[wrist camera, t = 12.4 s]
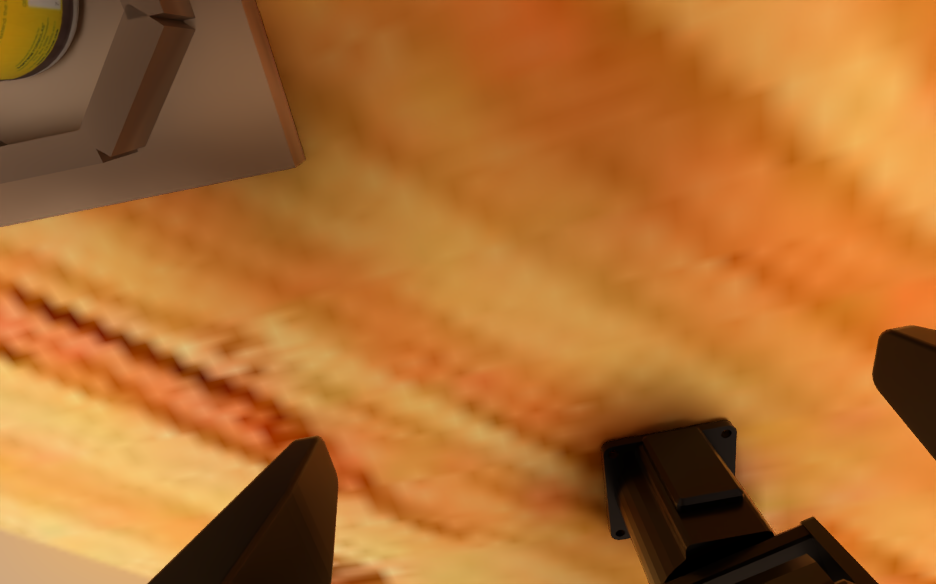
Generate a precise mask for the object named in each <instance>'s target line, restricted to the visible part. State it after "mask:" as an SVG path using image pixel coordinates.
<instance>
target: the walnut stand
mask: <svg viewBox="0 0 936 584" xmlns="http://www.w3.org/2000/svg"><path fill="white" fill-rule="evenodd" d="M305 160H306V159H305V156H304V153H303V150H302V147H301V143H300V140H299V137H298V134H297V131H296V128H295V124H294V121H293V118H292V115H291V112H290V109H289V105H288V102H287V99H286V96H285V93H284V90H283V86H282V83H281V80H280V77H279V74H278V71H277V67H276V64H275V61H274V58H273V55H272V52H271V48H270V45H269V42H268V39H267V36H266V33H265V29H264V26H263V23H262V20H261V17H260V14H259V10H258V7H257V4H256V1H255V0H79V14H78V22H77V28H76V32H75V35H74V37H73V40H72V42H71V44H70V46H69V48H68V49H67V51H66V52H65V53H64V55H63V56H62V57H61V58H60V59H59V60H58V61H57V62H56V63H55V64H54V65H52V66H51V67H50V68H48V69H47V70H45V71H43V72H41V73H39V74H36V75H34V76H31V77H27V78H23V79H18V80H11V81H0V227H3V226H8V225H13V224H18V223H23V222H28V221H33V220H38V219H43V218H48V217H53V216H58V215H63V214H68V213H73V212H78V211H83V210H88V209H93V208H98V207H103V206H108V205H113V204H118V203H122V202H127V201H132V200H137V199H142V198H147V197H152V196H157V195H162V194H167V193H172V192H177V191H182V190H187V189H192V188H197V187H202V186H207V185H212V184H217V183H222V182H227V181H232V180H237V179H242V178H247V177H252V176H256V175H261V174H266V173H271V172H276V171H281V170H286V169H291V168H296V167H297V166H298V165H300V164H301V163H302V162H303V161H305Z"/></svg>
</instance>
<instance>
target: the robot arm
mask: <svg viewBox="0 0 936 584" xmlns="http://www.w3.org/2000/svg"><path fill="white" fill-rule="evenodd" d="M872 376H873V381H874V384H875V386H876V388H877V389H878V391H879V392H880V393H881V394H882V396H883V397H884V398H885V399H886V400H887V402H888V403H889V404H890V405H891V407H892V408H893V409H894V410H895V411H896V413H897V414H898V415H899V416H900V417H901V419H902V420H903V421H904V422H905V424H906V425H907V426H908V427H909V428H910V430H911V431H912V432H913V433H914V435H915V436H916V437H917V438H918V439H919V441H920V442H921V443H922V444H923V445H924V447H925V448H926V449H927V450H928V452H929V453H930V454H931V455H932V456H933V458H934V459H935V460H936V330H933V329H928V328H924V327H919V326H904V327H898V328H893V329H888V330H886V331H884V332H882V333H881V335H880V336H879V339H878V343H877V349H876V355H875V361H874V366H873V373H872ZM724 430H726V431H725V432H723V431H724ZM736 437H737V431H736V428H735V427H734V426H733V425H732V423H731V422H730V421H727V420H722V421H717V422H711V423H706V424H700V425H695V426H689V427H684V428H678V429H673V430H667V431H662V432H656V433H651V434H645V435H640V436H635V437H629V438H624V439H618V440H613V441H609V442H606V443H605V444H603V446H602V447H601V455H602V465H603V475H604V486H605V496H606V506H607V516H608V526H609V531H610V533H611V536H612V538H614V539H616V540H622V539H628V538H631V540H632V542H633V545H634V547H635V550H636V552H637V555H638V557H639V560H640V562H641V565H642V567H643V570H644V572H645V574H646V577H647V579H648V582H649V584H878V583H877V582H876V581H875V580H874V579H873V578H872V577H871V576H870V575H869V574H868V573H867V571H866V570H865V569H864V568H863V567H862V566H861V565H860V564H859V563H858V562H857V561H856V560H855V559H854V558H853V557H852V556H851V555H850V554H849V553H848V552H847V551H846V550H845V549H844V548H843V547H842V546H841V545H840V543H839V542H838V541H837V540H836V539H835V538H834V537H833V536H832V535H831V534H830V533H829V532H828V531H827V530H826V529H825V528H824V527H823V526H822V525H821V524H820V523H819V522H818V521H817V520H816V519H815V518H814V517H811V518H808V519H806V520H804V521H801V522H800V524H801V525H799V526H796V527H794V528H792V529H789V530H787V531H784V532H782V533H780V534H777V535H776V534H775V533H774V531H773V530H772V528H771V527H770V526H769V524H768V523H767V521H766V520H765V519H764V517H763V516H762V514H761V513H760V511H759V510H758V509H757V507H756V506H755V504H754V503H753V502H752V500H751V499H750V497H749V496H748V495H747V493H746V492H745V490H744V489H743V488H742V486H741V485H740V483H739V482H738V480H737V479H736V478H735V460H736ZM613 450H615V451H614V452H612V453H610V452H611V451H613ZM337 499H338V478H337V473H336V470H335V468H334V465H333V463H332V460H331V458H330V455H329V452H328V450H327V447H326V445H325V442H324V441H323V439H322V438H321V437H319V436H312V437H307V438H301V439H297V440H295V441H293V442H292V443H291V444H290V445H289V446H288V447H287V448H286V449H285V450H284V451H283V452H282V453H281V454H280V455H279V456H278V457H277V458H276V459H274V460H273V461H272V462H271V463H270V464H269V465H268V466H267V467H266V468H265V469H264V470H263V471H262V472H261V473H260V474H259V475H258V476H257V477H256V478H255V479H254V480H253V481H252V482H251V483H250V484H249V485H248V486H247V487H246V488H245V489H244V490H243V491H242V492H241V493H240V494H239V495H238V496H237V497H236V498H235V499H234V500H233V501H232V502H230V503H229V504H228V505H227V506H226V507H225V508H224V509H223V510H222V511H221V512H220V513H219V514H218V515H217V516H216V517H215V518H214V519H213V520H212V521H211V522H210V523H209V524H208V525H207V526H206V527H205V528H204V529H203V530H202V531H201V532H200V533H199V534H198V535H197V536H196V537H195V538H194V539H193V540H192V541H191V542H190V543H189V544H187V545H186V546H185V547H184V548H183V549H182V550H181V551H180V552H179V553H178V554H177V555H176V556H175V557H174V558H173V559H172V560H171V561H170V562H169V563H168V564H167V565H166V566H165V567H164V568H163V569H162V570H161V571H160V572H159V573H158V574H157V575H156V576H155V577H154V578H153V579H152V580H151V581H150V582H149V583H148V584H331V580H332V569H333V556H334V542H335V527H336V513H337Z"/></svg>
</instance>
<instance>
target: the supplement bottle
mask: <svg viewBox="0 0 936 584" xmlns="http://www.w3.org/2000/svg"><path fill="white" fill-rule="evenodd" d="M78 14H79V0H0V81H11V80H18V79H23V78H27V77H31V76H34V75H36V74H39V73H41V72H43V71H45V70H47V69H48V68H50V67H51V66H52V65H54V64H55V63H56V62H57V61H58V60H59V59H60V58H61V57H62V56H63V55H64V53H65V52H66V51H67V49H68V48H69V46H70V44H71V42H72V40H73V37H74V35H75V32H76V28H77V22H78Z"/></svg>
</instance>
